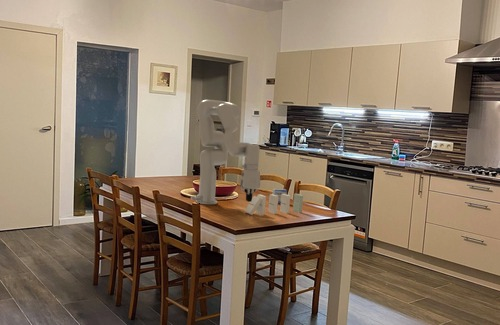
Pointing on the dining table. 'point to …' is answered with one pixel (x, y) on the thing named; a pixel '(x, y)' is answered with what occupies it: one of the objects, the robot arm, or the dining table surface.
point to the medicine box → (279, 193)
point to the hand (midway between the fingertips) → (248, 201)
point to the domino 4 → (285, 203)
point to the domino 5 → (298, 203)
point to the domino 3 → (273, 204)
